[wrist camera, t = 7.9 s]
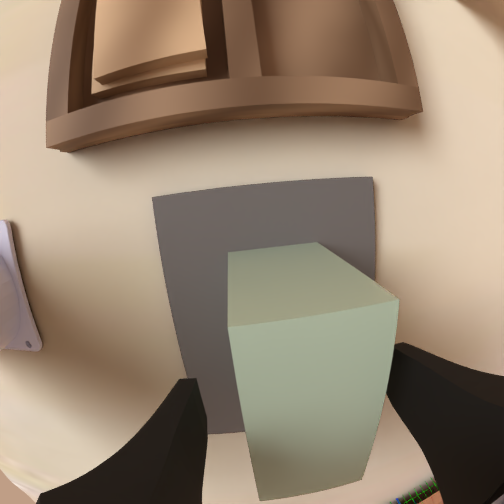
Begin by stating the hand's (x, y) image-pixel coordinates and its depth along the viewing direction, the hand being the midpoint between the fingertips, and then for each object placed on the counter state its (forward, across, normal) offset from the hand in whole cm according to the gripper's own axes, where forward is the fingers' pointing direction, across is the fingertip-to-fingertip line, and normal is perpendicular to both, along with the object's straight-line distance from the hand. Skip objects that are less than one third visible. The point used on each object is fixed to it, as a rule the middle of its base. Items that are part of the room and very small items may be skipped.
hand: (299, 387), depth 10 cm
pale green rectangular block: (+4, 0, 0) cm, 4 cm away
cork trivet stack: (+4, +5, -16) cm, 18 cm away
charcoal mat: (+5, 0, 0) cm, 5 cm away
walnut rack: (+5, +1, -16) cm, 17 cm away
